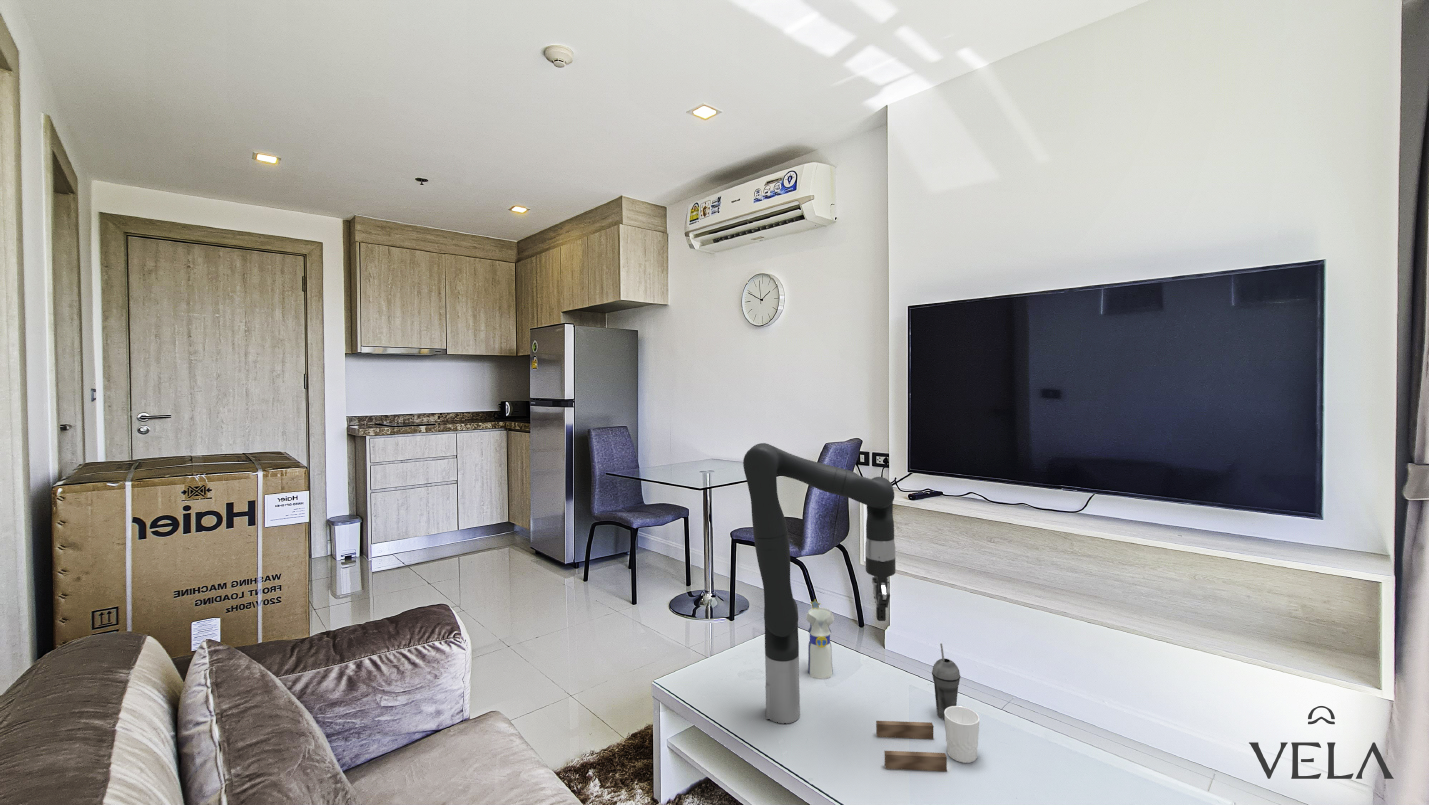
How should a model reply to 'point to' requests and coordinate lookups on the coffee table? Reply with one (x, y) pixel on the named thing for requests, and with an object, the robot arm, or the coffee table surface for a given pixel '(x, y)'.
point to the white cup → (961, 733)
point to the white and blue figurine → (819, 642)
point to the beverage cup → (945, 684)
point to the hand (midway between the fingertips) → (881, 619)
